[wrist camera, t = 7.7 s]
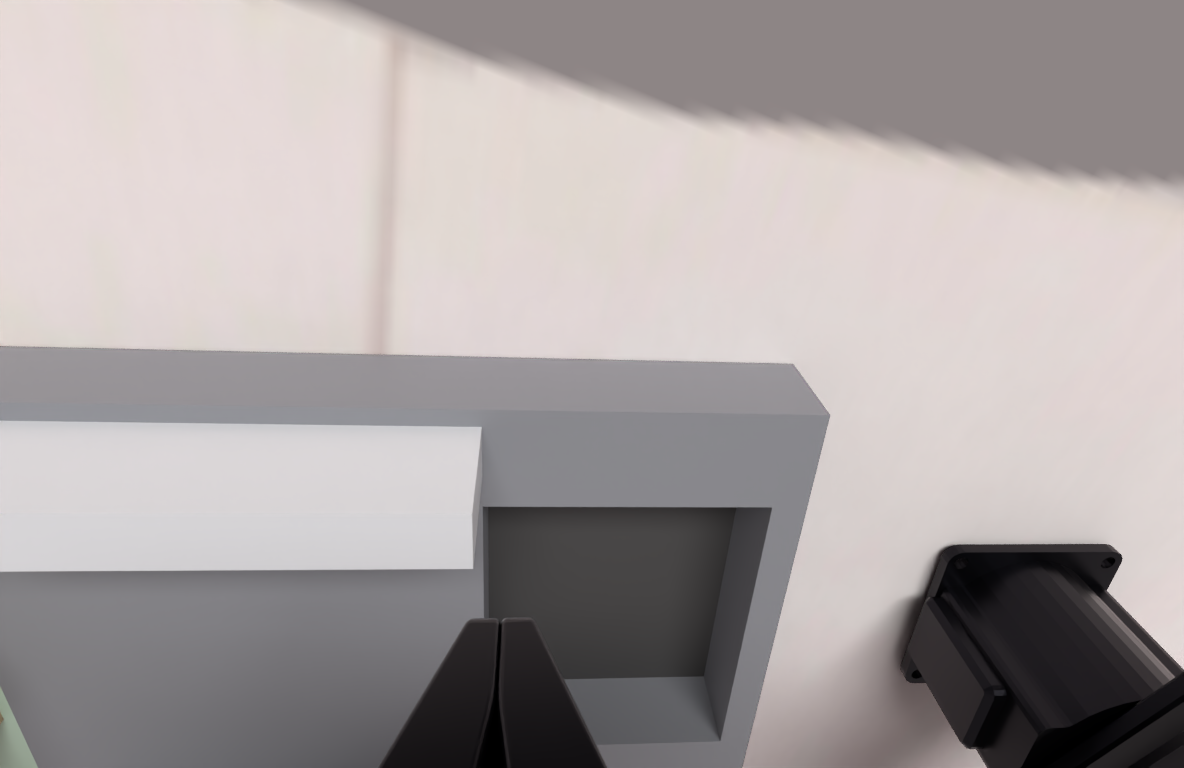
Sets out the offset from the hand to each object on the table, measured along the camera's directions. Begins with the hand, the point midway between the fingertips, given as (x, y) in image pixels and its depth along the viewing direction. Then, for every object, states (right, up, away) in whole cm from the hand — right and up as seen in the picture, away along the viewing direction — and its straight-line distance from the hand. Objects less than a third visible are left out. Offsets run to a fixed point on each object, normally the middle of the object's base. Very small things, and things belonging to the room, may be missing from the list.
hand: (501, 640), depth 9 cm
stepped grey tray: (-9, -3, +14) cm, 17 cm away
